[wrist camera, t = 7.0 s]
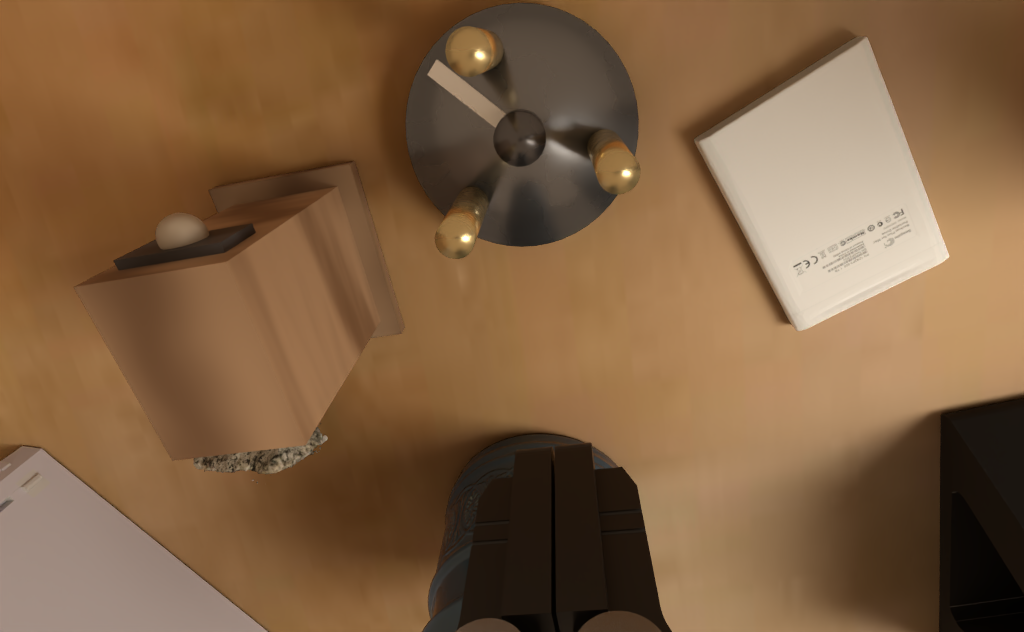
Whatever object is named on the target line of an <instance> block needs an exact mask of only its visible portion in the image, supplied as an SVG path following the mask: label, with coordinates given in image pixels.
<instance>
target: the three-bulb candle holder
mask: <svg viewBox="0 0 1024 632" xmlns="http://www.w3.org/2000/svg"><path fill="white" fill-rule="evenodd" d="M406 139H407V145H408V152H409V155H410V159H411V162H412V166H413V169H414V171H415V173H416V176H417V178H418V180H419V182H420V184H421V186H422V187H423V189H424V191H425V193H426V194H427V196H428V197H429V198H430V200H431V201H432V202H433V204H434V205H435V206H436V207H437V208H438V209H439V210H440V211H441V212H442V213H443V214H444V215H445V218H444V220H443V221H442V223H441V225H440V226H439V228H438V230H437V232H436V235H435V243H436V246H437V248H438V250H439V251H440V252H441V253H442V254H443V255H444V256H446V257H448V258H452V259H460V258H463V257H465V256H467V255H468V254H469V253H470V252H471V251H472V249H473V247H474V244H475V241H476V238H477V237H478V238H481V239H483V240H487V241H490V242H493V243H497V244H502V245H507V246H521V247H523V246H537V245H542V244H548V243H552V242H555V241H558V240H561V239H564V238H566V237H568V236H570V235H572V234H574V233H576V232H578V231H580V230H581V229H583V228H584V227H586V226H588V225H589V224H590V223H591V222H593V221H594V220H595V219H596V218H597V217H599V216H600V215H601V214H602V213H603V212H604V211H605V210H606V208H607V207H608V206H609V205H610V204H611V203H612V201H613V200H614V199H615V197H616V196H617V195H618V194H624V193H626V192H628V191H630V190H631V189H633V188H634V187H635V185H636V184H637V182H638V180H639V177H640V166H639V163H638V161H637V160H636V158H635V157H634V156H635V152H636V147H637V140H638V110H637V102H636V98H635V94H634V90H633V86H632V83H631V81H630V78H629V76H628V73H627V71H626V69H625V67H624V65H623V63H622V62H621V60H620V58H619V56H618V55H617V54H616V52H615V51H614V50H613V48H612V47H611V46H610V44H609V43H608V42H607V41H606V40H605V39H604V38H603V37H602V36H601V35H600V34H599V33H598V32H597V31H596V30H595V29H593V28H592V27H591V26H589V25H588V24H587V23H585V22H584V21H582V20H581V19H579V18H577V17H575V16H573V15H571V14H570V13H567V12H565V11H562V10H559V9H557V8H554V7H550V6H545V5H540V4H533V3H512V4H503V5H499V6H495V7H491V8H487V9H484V10H482V11H480V12H477V13H475V14H472V15H470V16H469V17H467V18H465V19H464V20H462V21H460V22H459V23H457V24H456V25H455V26H453V27H452V28H451V29H450V30H448V31H447V32H446V33H445V34H444V35H443V36H442V37H441V38H440V39H439V40H438V41H437V42H436V43H435V44H434V46H433V47H432V48H431V50H430V51H429V52H428V54H427V55H426V57H425V58H424V60H423V62H422V64H421V65H420V67H419V69H418V71H417V73H416V76H415V78H414V81H413V84H412V87H411V90H410V94H409V99H408V103H407V111H406Z"/></svg>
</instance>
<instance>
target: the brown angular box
mask: <svg viewBox="0 0 1024 632" xmlns="http://www.w3.org/2000/svg"><path fill="white" fill-rule="evenodd" d="M209 193H210V195H211V197H212V200H213V202H214V204H215V207H216V209H217V212H218V213H217V214H215V215H213V216H211V217H209V218H207V219H205V220H203V221H201V220H200V219H199V218H197V217H195V216H193V215H191V214H187V213H174V214H170V215H168V216H166V217H165V218H163V219H162V220H161V221H160V223H159V224H158V226H157V228H156V233H155V235H156V240H154V241H152V242H150V243H148V244H146V245H144V246H142V247H140V248H138V249H136V250H134V251H132V252H130V253H128V254H126V255H124V256H122V257H120V258H118V259H116V260H114V263H115V265H116V266H114V267H112V268H110V269H108V270H106V271H104V272H102V273H100V274H98V275H96V276H94V277H92V278H90V279H88V280H87V281H85V282H83V283H81V284H79V285H77V286H75V287H74V289H75V291H76V292H77V294H78V296H79V298H80V299H81V301H82V303H83V305H84V306H85V308H86V310H87V312H88V314H89V315H90V317H91V319H92V321H93V322H94V324H95V326H96V328H97V329H98V331H99V333H100V335H101V336H102V338H103V340H104V342H105V343H106V345H107V347H108V349H109V350H110V352H111V354H112V356H113V357H114V359H115V361H116V363H117V364H118V366H119V368H120V370H121V371H122V373H123V375H124V377H125V378H126V380H127V382H128V384H129V386H130V387H131V389H132V391H133V393H134V394H135V396H136V398H137V400H138V401H139V403H140V405H141V407H142V408H143V410H144V412H145V414H146V415H147V417H148V419H149V421H150V422H151V424H152V426H153V428H154V429H155V431H156V433H157V435H158V436H159V438H160V440H161V442H162V443H163V445H164V447H165V449H166V451H167V452H168V454H169V456H170V458H171V459H172V461H173V460H182V459H190V458H199V457H208V456H217V455H225V454H234V453H243V452H252V451H260V450H269V449H278V448H287V447H295V446H304V445H306V444H307V442H308V440H309V439H310V437H311V436H312V434H313V432H314V431H315V429H316V427H317V426H318V424H319V422H320V421H321V419H322V417H323V416H324V414H325V412H326V411H327V409H328V407H329V406H330V404H331V402H332V401H333V399H334V397H335V396H336V394H337V392H338V391H339V389H340V388H341V386H342V384H343V383H344V381H345V379H346V378H347V376H348V374H349V373H350V371H351V369H352V368H353V366H354V364H355V363H356V361H357V359H358V358H359V356H360V354H361V353H362V351H363V349H364V348H365V346H366V345H367V343H368V341H369V340H370V338H375V337H382V336H389V335H396V334H402V332H403V330H404V328H405V327H404V324H403V320H402V317H401V314H400V310H399V307H398V304H397V300H396V297H395V294H394V290H393V287H392V284H391V280H390V277H389V274H388V270H387V267H386V264H385V260H384V257H383V254H382V251H381V247H380V244H379V241H378V237H377V234H376V231H375V227H374V224H373V221H372V217H371V214H370V211H369V207H368V204H367V201H366V197H365V194H364V191H363V187H362V184H361V181H360V177H359V174H358V171H357V167H356V164H355V161H352V162H347V163H341V164H336V165H331V166H325V167H320V168H314V169H309V170H304V171H298V172H293V173H287V174H282V175H277V176H271V177H266V178H260V179H255V180H250V181H244V182H239V183H233V184H228V185H223V186H217V187H214V188H212V189H210V190H209Z"/></svg>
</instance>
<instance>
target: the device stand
mask: <svg viewBox="0 0 1024 632" xmlns="http://www.w3.org/2000/svg"><path fill="white" fill-rule="evenodd" d="M939 632H1024V398H1023V399H1018V400H1013V401H1008V402H1003V403H998V404H993V405H988V406H983V407H978V408H973V409H968V410H963V411H958V412H953V413H948V414H943V415H941V455H940V609H939Z"/></svg>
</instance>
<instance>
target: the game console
mask: <svg viewBox="0 0 1024 632" xmlns="http://www.w3.org/2000/svg"><path fill="white" fill-rule="evenodd" d="M0 632H268V631H266V630H265V629H264V628H263V627H261V626H260V625H259V624H258V623H256V622H255V621H254V620H253V619H252V618H250V617H249V616H248V615H247V614H245V613H244V612H243V611H242V610H240V609H239V608H238V607H237V606H235V605H234V604H233V603H232V602H230V601H229V600H228V599H227V598H225V597H224V596H223V595H222V594H221V593H219V592H218V591H217V590H216V589H214V588H213V587H212V586H211V585H209V584H208V583H207V582H206V581H204V580H203V579H202V578H201V577H199V576H198V575H197V574H196V573H195V572H193V571H192V570H191V569H190V568H188V567H187V566H186V565H185V564H183V563H182V562H181V561H180V560H178V559H177V558H176V557H175V556H173V555H172V554H171V553H170V552H169V551H167V550H166V549H165V548H164V547H162V546H161V545H160V544H159V543H157V542H156V541H155V540H154V539H152V538H151V537H150V536H149V535H147V534H146V533H145V532H144V531H143V530H141V529H140V528H139V527H138V526H136V525H135V524H134V523H133V522H131V521H130V520H129V519H128V518H126V517H125V516H124V515H123V514H121V513H120V512H119V511H118V510H117V509H115V508H114V507H113V506H112V505H110V504H109V503H108V502H107V501H105V500H104V499H103V498H102V497H100V496H99V495H98V494H97V493H95V492H94V491H93V490H92V489H91V488H89V487H88V486H87V485H86V484H84V483H83V482H82V481H81V480H79V479H78V478H77V477H76V476H74V475H73V474H72V473H71V472H69V471H68V470H67V469H66V468H64V467H63V466H62V465H61V464H60V463H58V462H57V461H56V460H55V459H53V458H52V457H51V456H50V455H49V454H47V453H46V452H45V451H44V450H43V449H41V448H34V447H26V446H21V447H20V448H18V449H17V450H16V451H14V452H13V453H11V454H10V455H9V456H7V457H6V458H4V459H3V460H2V461H0Z"/></svg>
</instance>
